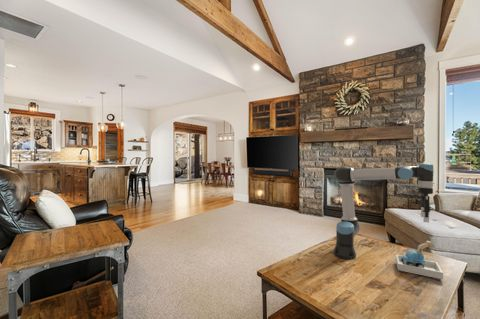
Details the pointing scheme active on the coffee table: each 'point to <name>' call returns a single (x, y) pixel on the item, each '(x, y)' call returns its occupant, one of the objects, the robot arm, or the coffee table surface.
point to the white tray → (429, 268)
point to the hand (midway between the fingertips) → (424, 219)
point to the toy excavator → (416, 255)
